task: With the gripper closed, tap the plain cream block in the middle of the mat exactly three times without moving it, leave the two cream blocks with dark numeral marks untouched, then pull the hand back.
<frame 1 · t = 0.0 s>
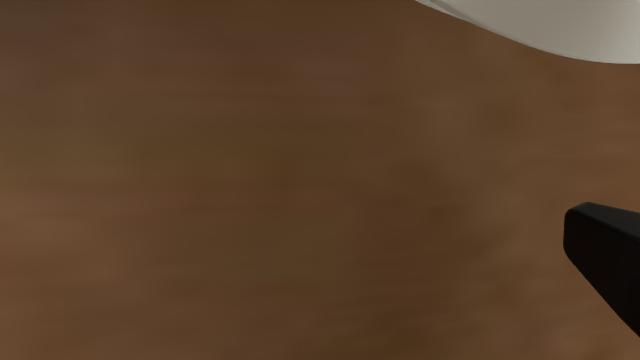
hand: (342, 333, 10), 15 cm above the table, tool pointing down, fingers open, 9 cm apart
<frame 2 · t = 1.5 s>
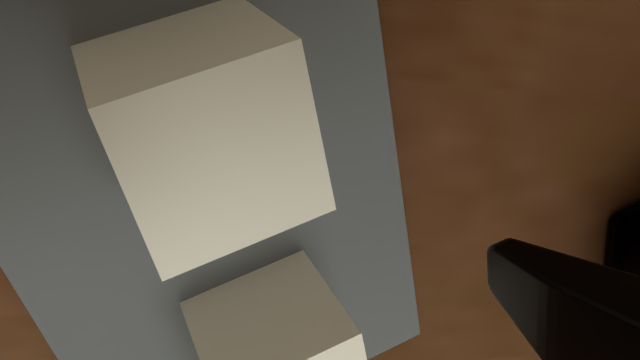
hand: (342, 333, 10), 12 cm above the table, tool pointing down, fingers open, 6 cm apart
plain block: (183, 97, 19), point 1 cm above the table, touching mat
mat: (179, 91, 19), on the table
block one: (258, 321, 24), point 1 cm above the table, touching mat
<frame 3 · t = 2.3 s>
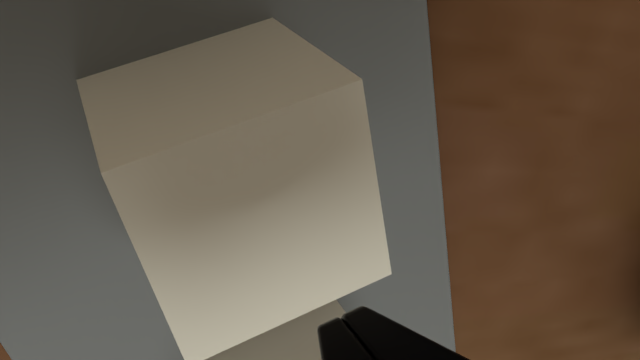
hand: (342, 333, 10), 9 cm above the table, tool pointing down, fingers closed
plain block: (206, 135, 16), point 1 cm above the table, touching mat
mat: (201, 127, 17), on the table
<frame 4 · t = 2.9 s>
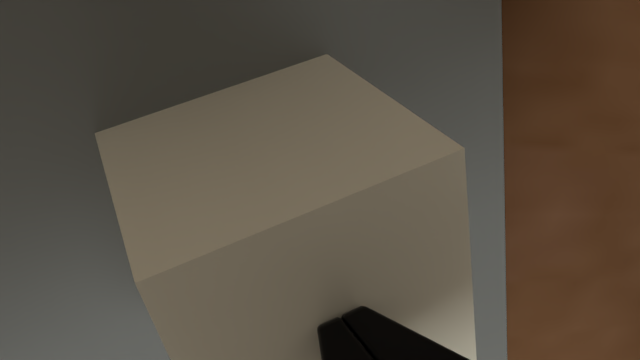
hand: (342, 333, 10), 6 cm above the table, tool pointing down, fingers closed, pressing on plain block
plain block: (246, 191, 14), point 1 cm above the table, touching gripper, mat
mat: (238, 179, 14), on the table
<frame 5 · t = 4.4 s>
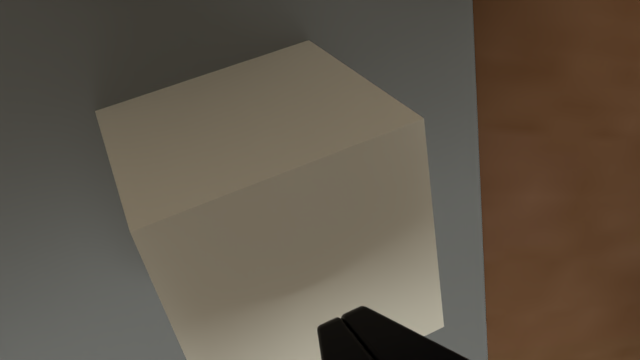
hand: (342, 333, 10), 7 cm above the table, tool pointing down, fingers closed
plain block: (235, 167, 15), point 1 cm above the table, touching mat
mat: (228, 157, 15), on the table
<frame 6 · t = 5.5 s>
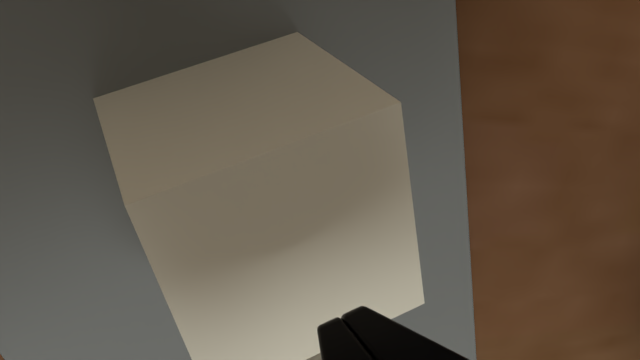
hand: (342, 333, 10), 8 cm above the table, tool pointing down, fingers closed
plain block: (227, 154, 16), point 1 cm above the table, touching mat
mat: (221, 145, 16), on the table
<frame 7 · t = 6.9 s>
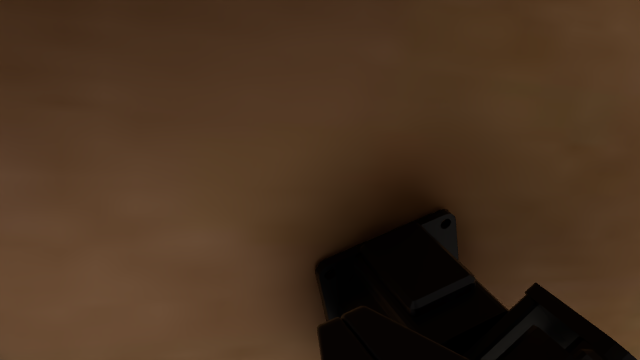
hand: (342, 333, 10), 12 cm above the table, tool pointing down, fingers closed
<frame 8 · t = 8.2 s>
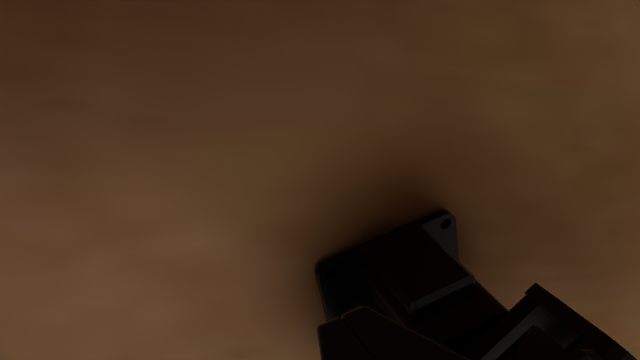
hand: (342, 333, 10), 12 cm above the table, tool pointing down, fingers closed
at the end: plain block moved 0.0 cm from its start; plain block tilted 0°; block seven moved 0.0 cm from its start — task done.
